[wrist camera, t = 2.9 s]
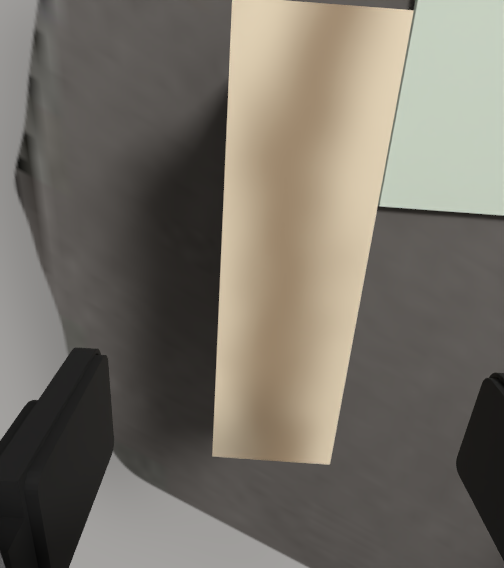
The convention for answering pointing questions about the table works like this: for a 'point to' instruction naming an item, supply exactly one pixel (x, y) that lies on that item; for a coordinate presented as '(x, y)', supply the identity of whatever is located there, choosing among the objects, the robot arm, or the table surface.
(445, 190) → the mat
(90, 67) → the table surface
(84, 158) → the table surface
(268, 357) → the beige wooden block
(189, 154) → the table surface
